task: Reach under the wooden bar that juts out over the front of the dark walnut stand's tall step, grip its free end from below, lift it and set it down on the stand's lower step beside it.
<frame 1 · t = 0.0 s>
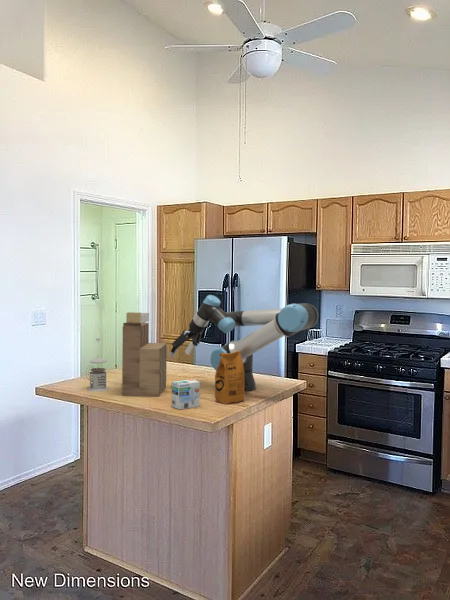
hand: (178, 355, 263), 15 cm above the worktop, tool tilted 35°, fingers open, 13 cm apart
light bulb box: (185, 407, 221), on the worktop
french press: (96, 389, 251), on the worktop
stepped stand: (144, 391, 248), on the worktop
coffee package: (229, 401, 232), on the worktop, touching arm
wooden bar: (140, 322, 256), point 32 cm above the worktop, touching stepped stand
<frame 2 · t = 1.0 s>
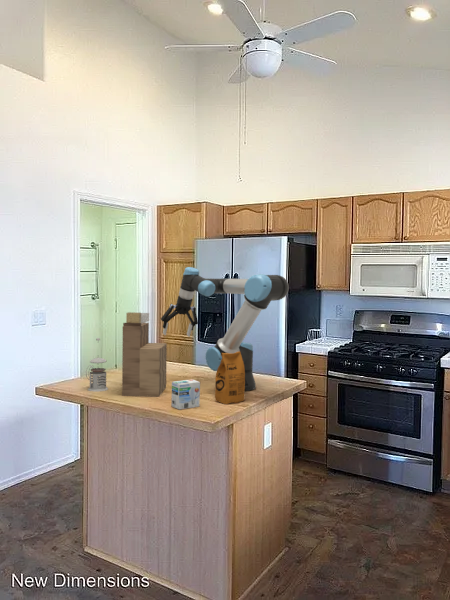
hand: (176, 334, 271), 24 cm above the worktop, tool tilted 20°, fingers open, 13 cm apart
coffee package: (229, 401, 232), on the worktop
everything else where it was.
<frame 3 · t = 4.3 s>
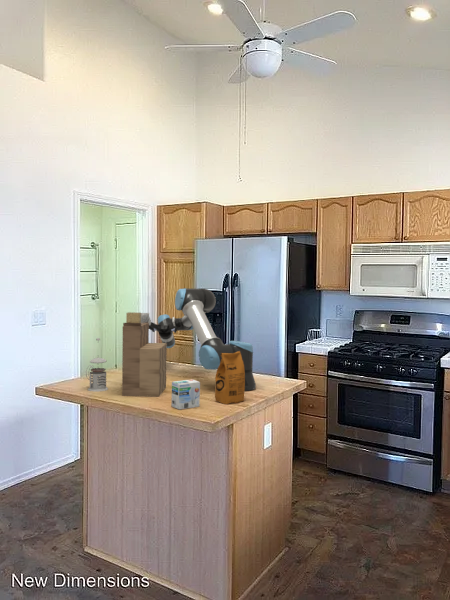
hand: (160, 318, 280), 32 cm above the worktop, tool pointing upward, fingers open, 13 cm apart
nothing on the worktop moved.
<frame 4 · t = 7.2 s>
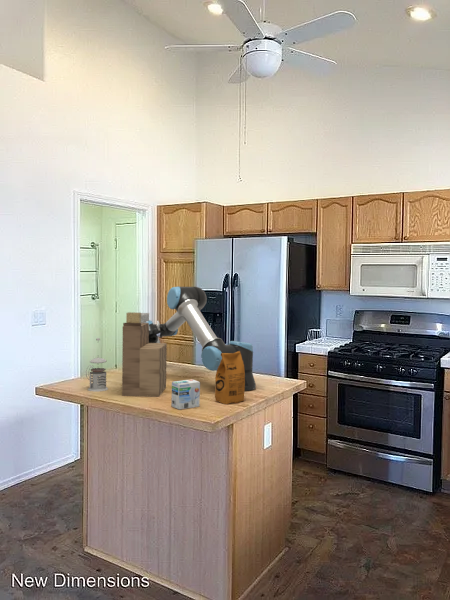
hand: (144, 322, 268), 31 cm above the worktop, tool pointing upward, fingers open, 13 cm apart
nothing on the worktop moved.
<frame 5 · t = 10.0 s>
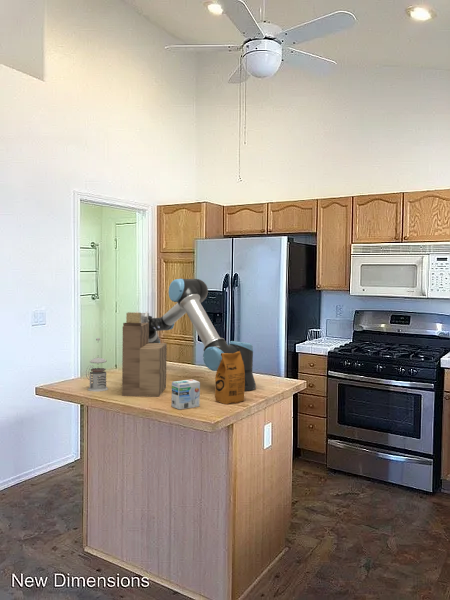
hand: (141, 313, 258), 36 cm above the worktop, tool pointing upward, fingers closed on wooden bar, 4 cm apart
wooden bar: (140, 322, 256), point 32 cm above the worktop, touching gripper, stepped stand
everything else where it was.
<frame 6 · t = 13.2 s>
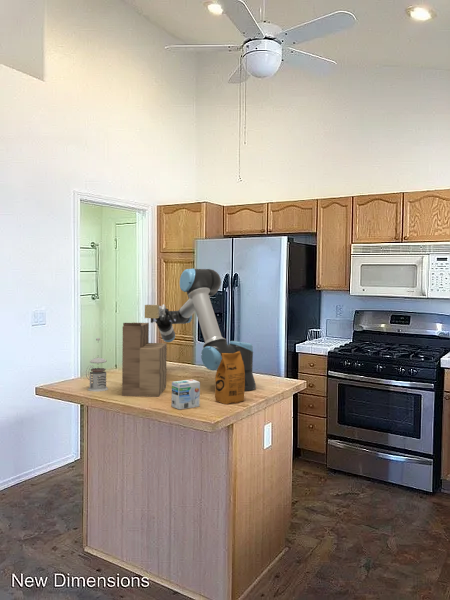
hand: (158, 306, 258), 40 cm above the worktop, tool pointing upward, fingers closed on wooden bar, 4 cm apart
wooden bar: (157, 315, 255), point 36 cm above the worktop, touching gripper
everything else where it was.
when the fingers open (28 cm above the worktop, at t = 16.2 s): wooden bar drops 1 cm, resting on stepped stand.
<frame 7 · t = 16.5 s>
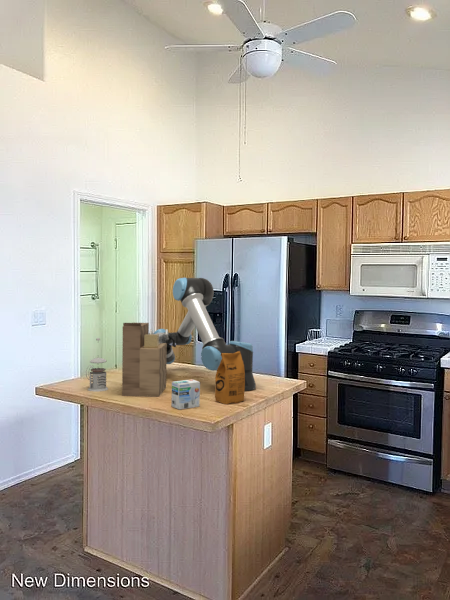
hand: (158, 331, 259), 27 cm above the worktop, tool pointing upward, fingers open, 7 cm apart
wooden bar: (157, 343, 256), point 22 cm above the worktop, touching stepped stand
everything else where it was.
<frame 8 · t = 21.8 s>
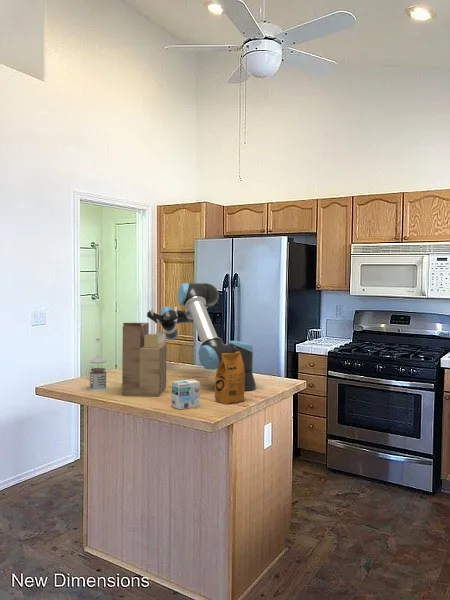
hand: (163, 308, 279), 38 cm above the worktop, tool pointing upward, fingers open, 13 cm apart
nothing on the worktop moved.
at the end: wooden bar inside the target area on the stepped stand (0.2 cm from its centre), point 22.0 cm above the stepped stand's base; wooden bar tilted 0°; the gripper is holding nothing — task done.
